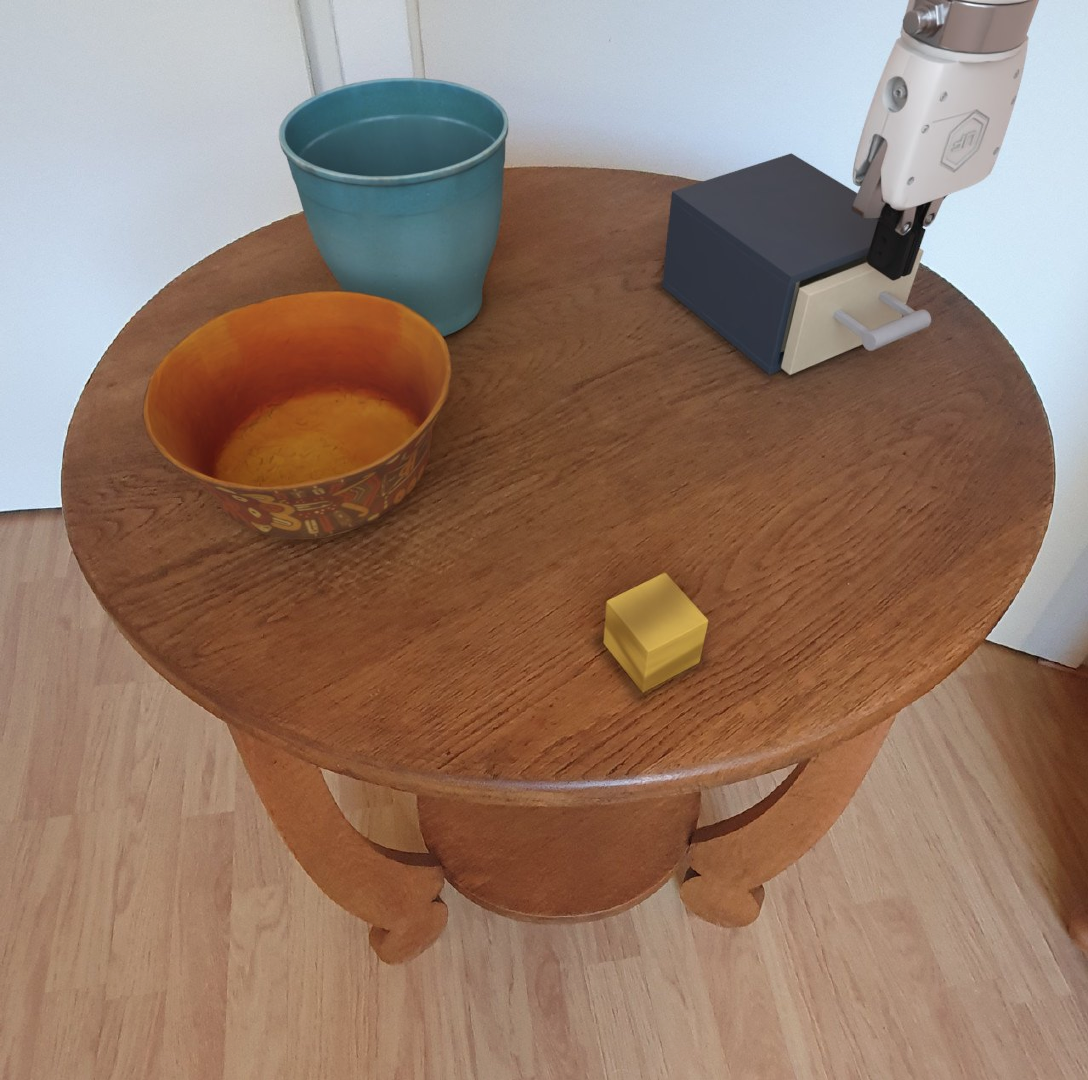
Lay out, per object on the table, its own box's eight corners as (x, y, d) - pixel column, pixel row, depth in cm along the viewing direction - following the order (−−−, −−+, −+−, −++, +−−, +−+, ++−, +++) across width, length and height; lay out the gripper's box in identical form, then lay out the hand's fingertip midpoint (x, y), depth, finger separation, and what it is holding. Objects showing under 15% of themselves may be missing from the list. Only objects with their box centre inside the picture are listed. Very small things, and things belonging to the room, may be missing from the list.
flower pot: (304, 270, 91) (265, 91, 78) (484, 240, 95) (474, 63, 82) (335, 383, 80) (294, 194, 67) (538, 343, 83) (537, 157, 70)
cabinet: (886, 326, 85) (917, 229, 78) (769, 375, 80) (791, 276, 73) (772, 246, 94) (791, 153, 87) (661, 286, 89) (671, 191, 82)
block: (699, 662, 61) (708, 620, 57) (642, 693, 59) (648, 651, 56) (659, 614, 63) (665, 571, 60) (602, 643, 62) (606, 600, 58)
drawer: (940, 359, 80) (971, 279, 74) (830, 408, 76) (854, 327, 70) (788, 253, 91) (805, 176, 85) (685, 291, 87) (695, 213, 81)
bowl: (161, 599, 64) (111, 496, 57) (202, 399, 78) (166, 295, 71) (469, 574, 66) (459, 470, 58) (455, 381, 80) (446, 278, 72)
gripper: (927, 61, 55) (849, 324, 69) (1095, 11, 60) (992, 265, 74) (837, 18, 59) (781, 274, 73) (1002, -25, 64) (920, 221, 78)
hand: (887, 269), depth 73 cm, fingers closed
